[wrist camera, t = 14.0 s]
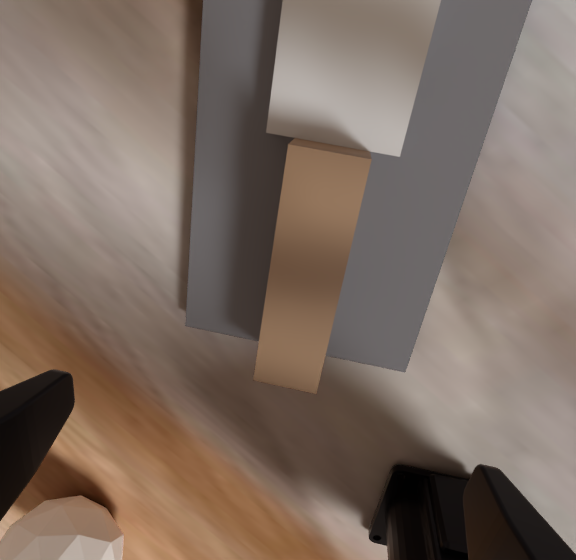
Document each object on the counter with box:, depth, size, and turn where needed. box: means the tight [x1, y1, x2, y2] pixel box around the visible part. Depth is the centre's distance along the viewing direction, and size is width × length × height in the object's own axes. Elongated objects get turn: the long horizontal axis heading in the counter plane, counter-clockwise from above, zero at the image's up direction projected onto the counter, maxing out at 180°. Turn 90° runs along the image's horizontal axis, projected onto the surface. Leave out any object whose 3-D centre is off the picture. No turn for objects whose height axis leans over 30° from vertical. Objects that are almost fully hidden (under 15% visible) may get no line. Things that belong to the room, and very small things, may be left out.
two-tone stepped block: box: [253, 0, 441, 394], centre depth 16 cm, size 17×5×3 cm, turn 171°
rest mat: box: [185, 0, 532, 372], centre depth 17 cm, size 22×11×1 cm, turn 171°
